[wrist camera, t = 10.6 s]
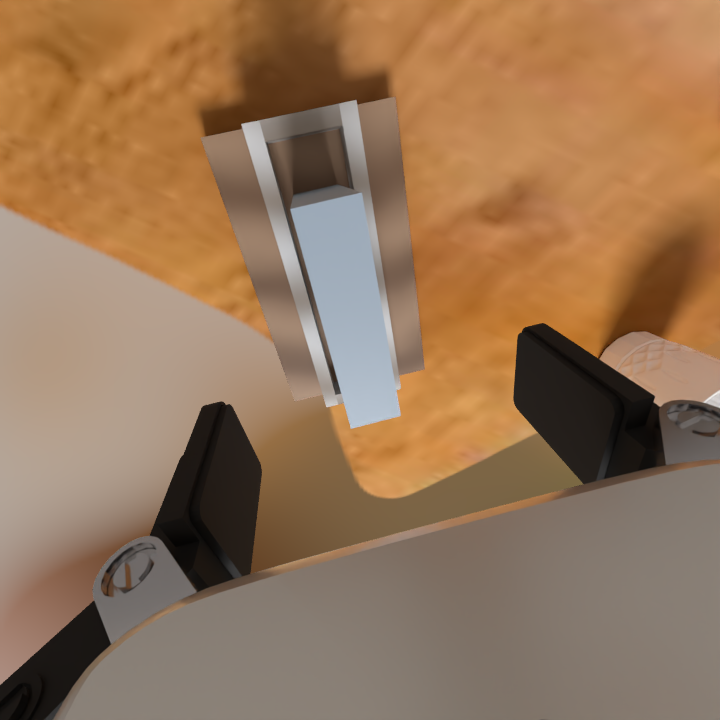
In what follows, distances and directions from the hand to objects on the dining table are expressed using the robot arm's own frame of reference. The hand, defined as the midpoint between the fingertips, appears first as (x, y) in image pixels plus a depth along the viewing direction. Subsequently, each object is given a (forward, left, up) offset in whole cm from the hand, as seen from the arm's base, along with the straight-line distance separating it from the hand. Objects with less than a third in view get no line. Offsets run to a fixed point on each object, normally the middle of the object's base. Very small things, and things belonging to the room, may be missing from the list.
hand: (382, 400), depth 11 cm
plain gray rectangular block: (0, 0, -17) cm, 17 cm away
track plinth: (0, 0, -18) cm, 18 cm away
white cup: (+16, +28, -18) cm, 37 cm away
